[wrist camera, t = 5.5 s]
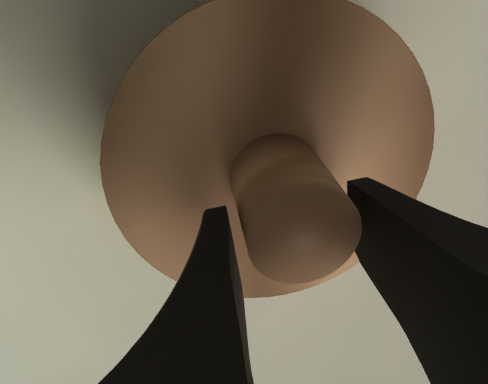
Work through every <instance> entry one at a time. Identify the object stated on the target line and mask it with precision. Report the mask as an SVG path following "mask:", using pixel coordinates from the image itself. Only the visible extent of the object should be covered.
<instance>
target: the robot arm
mask: <svg viewBox="0 0 488 384" xmlns="http://www.w3.org/2000/svg"><path fill="white" fill-rule="evenodd" d="M347 195H348V197H349V198H350V199H351V201H352V202H353V203H354V205H355V206H356V208H357V209H358V211H359V214H360V216H361V221H362V233H361V237H360V241H359V243H358V246H357V248H356V249H355V253H356V255H357V257H358V259H359V261H360V263H361V265H362V266H363V268H364V269H365V271H366V273H367V274H368V276H369V277H370V279H371V280H372V282H373V283H374V285H375V286H376V288H377V289H378V291H379V293H380V294H381V296H382V297H383V299H384V300H385V302H386V303H387V305H388V306H389V308H390V309H391V311H392V312H393V314H394V315H395V317H396V318H397V320H398V322H399V323H400V325H401V327H402V328H403V330H404V332H405V333H406V335H407V337H408V339H409V341H410V343H411V345H412V347H413V349H414V351H415V353H416V355H417V357H418V359H419V361H420V362H421V364H422V366H423V368H424V371H425V373H426V375H427V377H428V379H429V381H430V383H431V384H488V228H486V227H483V226H480V225H477V224H474V223H471V222H468V221H465V220H463V219H460V218H458V217H455V216H453V215H450V214H448V213H445V212H443V211H440V210H438V209H436V208H433V207H431V206H429V205H426V204H424V203H422V202H420V201H418V200H415V199H413V198H411V197H409V196H407V195H405V194H403V193H401V192H399V191H397V190H394V189H392V188H390V187H388V186H386V185H384V184H382V183H380V182H378V181H376V180H373V179H371V178H368V177H364V178H359V179H354V180H349V181H347ZM98 384H254V382H253V377H252V372H251V366H250V358H249V350H248V340H247V329H246V319H245V309H244V298H243V288H242V283H241V278H240V272H239V267H238V262H237V257H236V252H235V247H234V242H233V237H232V232H231V227H230V222H229V217H228V212H227V207H226V205H225V206H220V207H215V208H210V209H206V210H205V211H204V212H203V215H202V221H201V225H200V228H199V232H198V235H197V238H196V241H195V243H194V246H193V249H192V251H191V254H190V256H189V259H188V261H187V263H186V265H185V267H184V269H183V271H182V273H181V276H180V278H179V279H178V281H177V283H176V285H175V287H174V289H173V290H172V292H171V294H170V295H169V297H168V299H167V300H166V302H165V304H164V305H163V307H162V308H161V310H160V311H159V313H158V314H157V315H156V317H155V318H154V320H153V321H152V323H151V324H150V325H149V327H148V328H147V329H146V331H145V332H144V333H143V335H142V336H141V337H140V338H139V339H138V341H137V342H136V343H135V344H134V345H133V347H132V348H131V349H130V350H129V351H128V353H127V354H126V355H125V356H124V357H123V359H122V360H121V361H120V362H119V363H118V364H117V365H116V366H115V367H114V368H113V369H112V370H111V371H110V372H109V373H108V374H107V375H106V376H105V377H104V378H103V379H102V380H101V381H100V382H99V383H98Z"/></svg>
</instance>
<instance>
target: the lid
mask: <svg viewBox="0 0 488 384" xmlns="http://www.w3.org/2000/svg"><path fill="white" fill-rule="evenodd" d="M433 141H434V110H433V105H432V100H431V94H430V90H429V87H428V84H427V81H426V79H425V76H424V73H423V71H422V69H421V67H420V65H419V63H418V61H417V60H416V58H415V56H414V54H413V52H412V51H411V50H410V49H409V47H408V46H407V45H406V44H405V42H404V41H403V40H402V38H401V37H400V36H399V35H398V34H397V33H396V32H395V31H394V30H393V29H392V28H390V27H389V26H388V25H387V24H386V23H385V22H384V21H383V20H381V19H380V18H378V17H377V16H375V15H374V14H372V13H371V12H369V11H367V10H366V9H364V8H363V7H361V6H358V5H356V4H354V3H351V2H349V1H347V0H212V1H209V2H207V3H205V4H203V5H201V6H199V7H197V8H195V9H193V10H192V11H190V12H188V13H186V14H184V15H182V16H181V17H180V18H178V19H177V20H176V21H174V22H173V23H172V24H170V25H169V26H168V27H166V28H165V29H164V30H162V31H161V32H160V33H159V34H158V35H157V36H156V37H155V38H154V39H153V40H152V41H151V42H150V43H149V44H148V45H147V46H146V47H145V48H144V49H143V51H142V52H141V53H140V55H139V56H138V57H137V59H136V60H135V61H134V62H133V64H132V65H131V66H130V68H129V70H128V71H127V73H126V75H125V77H124V79H123V80H122V82H121V84H120V86H119V88H118V90H117V92H116V94H115V96H114V99H113V102H112V104H111V107H110V110H109V113H108V115H107V118H106V122H105V127H104V132H103V136H102V141H101V160H100V165H101V175H102V185H103V188H104V192H105V196H106V200H107V204H108V206H109V209H110V211H111V213H112V216H113V218H114V220H115V222H116V224H117V226H118V227H119V229H120V231H121V232H122V234H123V235H124V237H125V239H126V240H127V241H128V242H129V243H130V245H131V246H132V247H133V248H134V249H135V251H136V252H137V253H138V254H139V255H140V256H141V257H143V258H144V259H145V260H146V261H147V262H148V263H149V264H150V265H152V266H153V267H154V268H156V269H157V270H159V271H160V272H161V273H163V274H164V275H166V276H168V277H170V278H172V279H173V280H175V281H178V279H179V278H180V276H181V273H182V271H183V269H184V267H185V265H186V263H187V261H188V259H189V256H190V254H191V251H192V249H193V246H194V243H195V241H196V238H197V235H198V232H199V228H200V225H201V221H202V215H203V212H204V211H205V210H206V209H210V208H215V207H220V206H225V205H226V207H227V212H228V217H229V222H230V227H231V232H232V237H233V242H234V247H235V252H236V257H237V262H238V267H239V272H240V278H241V283H242V288H243V298H258V297H271V296H278V295H284V294H289V293H293V292H297V291H301V290H304V289H307V288H310V287H313V286H316V285H319V284H321V283H323V282H325V281H328V280H330V279H332V278H334V277H336V276H338V275H340V274H341V273H343V272H345V271H347V270H349V269H350V268H352V267H353V266H355V265H356V264H358V263H359V262H360V261H359V259H358V257H357V255H356V253H355V249H356V248H357V246H358V243H359V241H360V237H361V233H362V221H361V216H360V214H359V211H358V209H357V208H356V206H355V205H354V203H353V202H352V201H351V199H350V198H349V197H348V195H347V181H349V180H354V179H359V178H364V177H368V178H371V179H373V180H376V181H378V182H380V183H382V184H384V185H386V186H388V187H390V188H392V189H394V190H397V191H399V192H401V193H403V194H405V195H407V196H409V197H411V198H413V199H416V197H417V195H418V193H419V191H420V189H421V187H422V185H423V182H424V179H425V177H426V174H427V171H428V168H429V164H430V159H431V155H432V150H433Z"/></svg>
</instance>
